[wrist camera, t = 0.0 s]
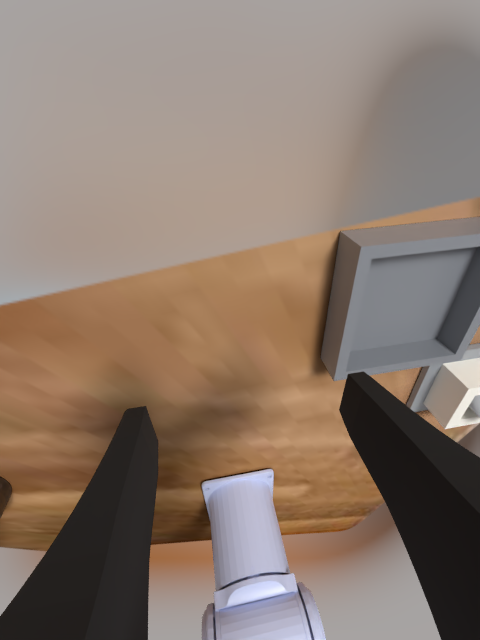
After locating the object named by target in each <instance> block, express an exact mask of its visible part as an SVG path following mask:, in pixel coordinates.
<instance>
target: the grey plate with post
mask: <svg viewBox="0 0 480 640" xmlns="http://www.w3.org/2000/svg"><path fill="white" fill-rule="evenodd" d="M475 358H480V343H478V344H471V345H469V346H468V348H467V350H466V351H465V353H464V355H463V357H462V359H461V361H463V360H469V359H475ZM454 362H457V361H454ZM448 363H450V362H448ZM442 364H444V363H442ZM442 364H436V365H430V366H424V367H423V368H422V370H421V372H420V375H419V377H418V379H417V382H416V384H415V386H414V388H413V391H412V393H411V395H410V397H409V400H408V402H407V404H406V406H407V407H409V408H410V409H411V410H413V411H414V412H418V411H424V410H428V409H427V407H426V406H425V405H424V404H423V403H424V401H425V399H426V397H427V395H428V393H429V391H430V389H431V387H432V384H433V382H434V380H435V378H436V376H437V374H438V372H439V370H440V368H441V366H442ZM469 407H470V408H471V409H472V410H473V411H474V412H475V413H476V415H477V416H478V417H479V418H480V395H477V396H475V397H474V399H473V400H472V402H471V403H470V405H469Z"/></svg>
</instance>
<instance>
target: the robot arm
mask: <svg viewBox="0 0 480 640" xmlns="http://www.w3.org/2000/svg"><path fill="white" fill-rule="evenodd" d="M339 410H340V413H341V416H342V418H343V421H344V423H345V426H346V428H347V431H348V433H349V436H350V438H351V440H352V441H353V443H354V445H355V447H356V449H357V451H358V453H359V454H360V456H361V458H362V460H363V462H364V464H365V465H366V467H367V469H368V471H369V473H370V475H371V476H372V478H373V480H374V482H375V484H376V486H377V487H378V489H379V491H380V493H381V495H382V496H383V498H384V500H385V502H386V504H387V506H388V508H389V510H390V513H391V515H392V517H393V519H394V521H395V524H396V526H397V528H398V531H399V533H400V535H401V538H402V540H403V542H404V545H405V547H406V549H407V552H408V554H409V557H410V559H411V561H412V564H413V566H414V569H415V571H416V573H417V576H418V579H419V581H420V584H421V586H422V589H423V591H424V594H425V597H426V599H427V602H428V604H429V607H430V609H431V612H432V615H433V618H434V620H435V623H436V625H437V629H438V632H439V634H440V637H441V640H480V458H479V457H478V456H476V455H475V454H473V453H471V452H469V451H468V450H467V449H465V448H464V447H462V446H461V445H459V444H458V443H456V442H455V441H454V440H452V439H451V438H449V437H448V436H446V435H445V434H444V433H442V432H441V431H439V430H438V429H436V428H435V427H434V426H432V425H431V424H430V423H428V422H427V421H426V420H424V419H423V418H422V417H420V416H419V415H418V414H416V413H415V412H414V411H413V410H411V409H410V408H409V407H407V406H406V405H405V404H404V403H402V402H401V401H400V400H399V399H397V398H396V397H395V396H394V395H392V394H391V393H390V392H389V391H387V390H386V389H385V388H384V387H382V386H381V385H380V384H379V383H378V382H376V381H375V380H374V379H373V378H371V377H370V376H369V375H368V374H366V373H365V372H364V371H363V372H357V373H351V374H348V376H347V380H346V384H345V388H344V392H343V397H342V401H341V405H340V409H339ZM157 479H158V440H157V437H156V434H155V431H154V428H153V425H152V422H151V420H150V417H149V414H148V411H147V408H146V406H144V407H138V408H132V409H127V410H126V411H125V412H124V415H123V417H122V419H121V422H120V424H119V426H118V428H117V430H116V433H115V435H114V437H113V439H112V441H111V443H110V445H109V447H108V449H107V451H106V453H105V455H104V457H103V459H102V461H101V462H100V464H99V466H98V468H97V470H96V472H95V474H94V476H93V478H92V479H91V481H90V483H89V485H88V486H87V488H86V490H85V492H84V493H83V495H82V497H81V498H80V500H79V502H78V503H77V505H76V507H75V509H74V510H73V512H72V514H71V515H70V517H69V518H68V520H67V522H66V523H65V525H64V526H63V528H62V530H61V531H60V533H59V534H58V536H57V537H56V539H55V540H54V542H53V543H52V545H51V546H50V548H49V549H48V551H47V552H46V554H45V555H44V557H43V558H42V560H41V561H40V562H39V564H38V565H37V567H36V568H35V570H34V571H33V573H32V574H31V575H30V577H29V578H28V579H27V581H26V582H25V584H24V585H23V586H22V588H21V589H20V591H19V592H18V593H17V595H16V596H15V597H14V599H13V600H12V601H11V603H10V604H9V605H8V607H7V608H6V609H5V611H4V612H3V614H2V615H1V616H0V640H148V587H149V586H148V585H149V558H150V545H151V535H152V526H153V517H154V507H155V498H156V488H157ZM273 479H274V472H273V470H272V469H266V470H261V471H256V472H251V473H245V474H240V475H235V476H230V477H225V478H219V479H214V480H209V481H204V482H203V483H202V490H203V494H204V498H205V502H206V506H207V511H208V515H209V519H210V522H211V535H212V548H213V560H214V573H215V585H216V591H215V592H214V603H211V604H208V606H207V609H206V610H205V612H204V614H203V617H202V640H326V637H325V633H324V629H323V626H322V622H321V618H320V615H319V612H318V609H317V606H316V603H315V600H314V598H313V595H312V593H311V591H310V590H309V589H308V588H307V587H305V585H304V584H303V583H302V582H299V583H296V580H295V576H294V573H292V574H290V570H289V567H288V562H287V558H286V554H285V550H284V546H283V541H282V537H281V533H280V529H279V525H278V521H277V516H276V512H275V508H274V504H273ZM214 604H215V605H214Z"/></svg>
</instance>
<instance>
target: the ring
mask: <svg viewBox="0 0 480 640" xmlns="http://www.w3.org/2000/svg"><path fill="white" fill-rule="evenodd" d="M477 395H480V358H475V359H469V360H463V361H457V362H450V363H444V364H442V366H441V368H440V370H439V372H438V374H437V376H436V378H435V380H434V382H433V384H432V387H431V389H430V391H429V393H428V395H427V397H426V399H425V401H424V403H423V404H424V405H425V406H426V407H427V409H428V410H429V411H430V412H431V413H432V415H433V416H434V417H435V418H436V419H437V421H438V422H439V423H440V424H441V425H442V427H443V428H444V429H448V428H454V427H459V426H464V425H469V424H475V423H480V418H479V417H478V416H477V415H476V413H475V412H474V411H473V410H472V409H471V408H470V407H469V405H470V403H471V402H472V400H473V399H474V397H475V396H477Z"/></svg>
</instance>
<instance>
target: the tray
mask: <svg viewBox="0 0 480 640" xmlns="http://www.w3.org/2000/svg"><path fill="white" fill-rule="evenodd" d="M479 325H480V217H473V218H463V219H453V220H444V221H434V222H424V223H415V224H405V225H395V226H385V227H376V228H366V229H356V230H347V231H340V237H339V243H338V250H337V256H336V263H335V269H334V275H333V282H332V288H331V294H330V301H329V307H328V313H327V320H326V326H325V333H324V339H323V345H322V352H321V360H322V361H323V363H324V365H325V367H326V368H327V370H328V372H329V374H330V375H331V377H332V379H333V381H337V380H343V379H347V376H348V374H351V373H357V372H363V371H364V372H365V373H366V374H368V375H374V374H380V373H387V372H393V371H399V370H405V369H411V368H417V367H424V366H430V365H436V364H442V363H448V362H454V361H461V359H462V357H463V355H464V353H465V351H466V350H467V348H468V346H469V344H470V342H471V340H472V338H473V336H474V335H475V333H476V331H477V329H478V327H479Z"/></svg>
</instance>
